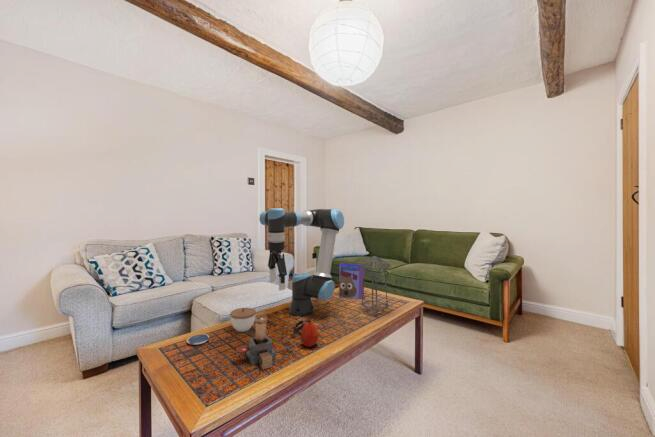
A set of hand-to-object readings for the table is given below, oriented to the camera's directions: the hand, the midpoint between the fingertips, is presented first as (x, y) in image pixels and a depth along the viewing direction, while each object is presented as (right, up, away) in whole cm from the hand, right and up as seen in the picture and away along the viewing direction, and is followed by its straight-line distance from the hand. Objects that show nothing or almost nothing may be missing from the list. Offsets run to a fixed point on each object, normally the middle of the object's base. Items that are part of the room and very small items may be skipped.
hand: (277, 285), depth 131 cm
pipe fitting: (-5, -24, -13) cm, 28 cm away
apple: (+15, -27, -2) cm, 31 cm away
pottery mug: (+12, -27, +9) cm, 31 cm away
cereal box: (+41, -25, +69) cm, 84 cm away
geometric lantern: (+52, -26, +41) cm, 72 cm away
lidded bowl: (-20, -26, +14) cm, 36 cm away
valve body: (-7, -27, -14) cm, 31 cm away
